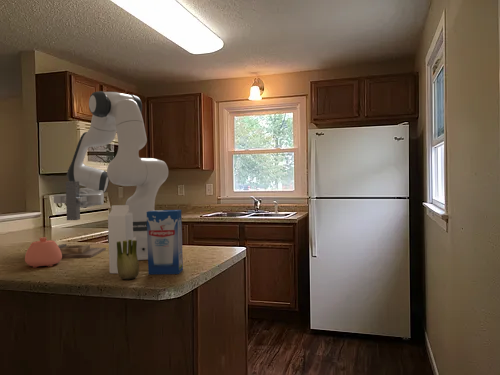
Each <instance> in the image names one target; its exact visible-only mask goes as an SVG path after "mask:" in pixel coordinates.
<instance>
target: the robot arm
mask: <svg viewBox="0 0 500 375" xmlns="http://www.w3.org/2000/svg"><path fill="white" fill-rule="evenodd" d="M88 110H89V111H90V113H91V114H92V117H91V122H90V126H89V128H88V130H87V131H85V132H83V133H82V135H80V138H79V141H78V143H77V145H76V147H75V151H74V154H73V157H72V160H71V163H70V164H69V167H68V169H67V172H66V178H67V180H68V182H71V181H79V186H80V187H81V186H82V187H81V188H80V187H79V193H80V197H77V202H80V209H81V208H82V209H86V208H90V207H95V206H102V205H104V202H105V196H104V194H105V193H106V191H107V190H108V188H109V184H110V183H112V184H113V185H117V186H122V187H123V186H124V187H131V186H132V187H133V186H134V187H136V188H135V192H134V193H133V195H131V196H130V197H128V198H127V199H126V202H125V205H128V206H129V210H130V212H131V213H132V215H133V240H136V241H137V248H136V252H137V259H138V261H144V260H147V261H148V243H147V212H148V211H152V210H155V205H156V203H155V202H156V198H157V197H156V196H157V194H158V192H159V190H160V187H161V186H162V185H163V184H164V183H165V182H166V180H167V178H169V167H168V165H167V163H166V162H165V161H164V160H161V159H158V158H152V157H140V155H139V151H140V150H142V149H143V148H144V147H145V146H146V144H147V142H148V138H147V133H146V128H145V123H144V119H143V115H142V112H143V103H142V100H141V99H140V97H139V96H137V95H134V94H127V93H121V92H117V91H102V90H101V91H100V90H98V91H94V92H92V93H91V94H90V95H89V99H88ZM116 135H117V143H118V147H117V152H116V155H115V156H114V158H113V159H111V161H110V162H109V163H108V166H107V168H106V170H103V169H100V168H96V167H93V166H90V165H86V164H85V163H84V160H85V158H86V156H87V155H86V154H87V152H88V149H89V148H93V147H94V148H95V147H103V146H104V147H105V146H106V145H109V144H111V143H112V142H113V141H114V140H115V138H116ZM53 203H54V204H66V193H64V194H63V193H61V194H54V195H53Z"/></svg>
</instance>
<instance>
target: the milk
mask: <svg viewBox="0 0 500 375" xmlns="http://www.w3.org/2000/svg"><path fill="white" fill-rule="evenodd" d="M107 226H108V228H107V229H108V231H107V232H108V234H107V235H108V257H109V258H108V260H109V262H108V263H109V265H108V266H109V274H118V269H117V242H118V241H121V248H122V253H123V241H125V240H126V241H127V254H128V240H129V239H130V240H133V215H132V213H131V212H130V210H129V206H128V205H126V204H119V205H118V204H116V205H113V204H112V205H111V210H110V212H109V213H108V215H107Z"/></svg>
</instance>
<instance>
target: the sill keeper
mask: <svg viewBox="0 0 500 375" xmlns="http://www.w3.org/2000/svg"><path fill="white" fill-rule="evenodd" d="M57 245H58V244H57ZM58 247H59V248H60V250H61V253H62V259H70V258H71V259H74V258H75V259H79V258H93V257H95V256H97V255H99V254H100V253H103V252H104V251H106V249H107V248H106V247H91V244H79V245H78V244H74V245H73V244H72V245H71V244H70V245H69V244H68V245H67V243H61V244H59V245H58Z"/></svg>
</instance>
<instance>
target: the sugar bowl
mask: <svg viewBox="0 0 500 375" xmlns="http://www.w3.org/2000/svg"><path fill="white" fill-rule="evenodd" d="M38 238H39V240H36V241H33V242H32V243H31V244H30V245H29V247H28V248H27V250H26V252H25V256H24V263H26V264H27V266H30V267H32V268H34V269H35V268H39V267H45V266H46V267H47V266H48V267H49V266H50V267H53V266H54V265H56V264H59V262H61V260H62V259H63V258H62V253H61V250H60V248H59V247H58V244H57V242H56V241H54V240H50V239H49V240H47V238H48V237H44V236H43V237H42V236H41V237H38Z"/></svg>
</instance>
